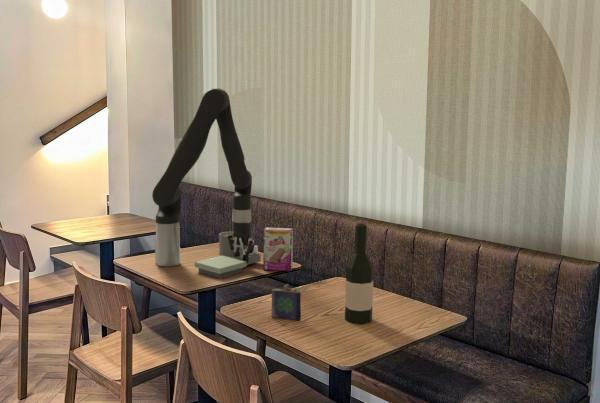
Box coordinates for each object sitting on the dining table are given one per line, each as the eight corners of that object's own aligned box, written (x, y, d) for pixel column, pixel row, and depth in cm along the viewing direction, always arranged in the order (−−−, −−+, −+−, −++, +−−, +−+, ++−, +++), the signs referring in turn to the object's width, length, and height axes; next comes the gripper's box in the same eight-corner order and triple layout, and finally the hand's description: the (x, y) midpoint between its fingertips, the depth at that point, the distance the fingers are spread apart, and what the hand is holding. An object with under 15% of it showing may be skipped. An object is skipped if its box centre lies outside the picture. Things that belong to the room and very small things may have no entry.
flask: (270, 318, 186) (270, 284, 184) (273, 315, 188) (273, 281, 187) (299, 321, 183) (299, 287, 181) (302, 318, 186) (302, 284, 184)
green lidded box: (194, 272, 235) (194, 261, 234) (221, 265, 245) (221, 255, 245) (219, 279, 226) (219, 268, 225) (246, 271, 237) (246, 261, 236)
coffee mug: (229, 261, 252) (229, 237, 250) (214, 256, 259) (214, 233, 257) (253, 255, 262) (253, 232, 260) (238, 251, 268) (238, 229, 267)
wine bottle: (361, 326, 180) (364, 226, 175) (339, 319, 185) (341, 222, 180) (377, 319, 186) (381, 222, 181) (355, 313, 191) (358, 219, 186)
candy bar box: (262, 270, 238) (263, 229, 235) (264, 267, 243) (265, 227, 240) (291, 271, 237) (291, 230, 234) (292, 268, 242) (293, 228, 239)
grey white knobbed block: (232, 264, 242) (232, 249, 241) (253, 259, 251) (253, 244, 250) (239, 266, 239) (239, 251, 238) (260, 261, 248) (260, 246, 247)
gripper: (222, 218, 242) (222, 260, 244) (247, 224, 233) (247, 267, 235) (236, 216, 247) (235, 257, 250) (261, 221, 238) (260, 263, 241)
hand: (241, 262), depth 243 cm, fingers closed on grey white knobbed block, 4 cm apart
